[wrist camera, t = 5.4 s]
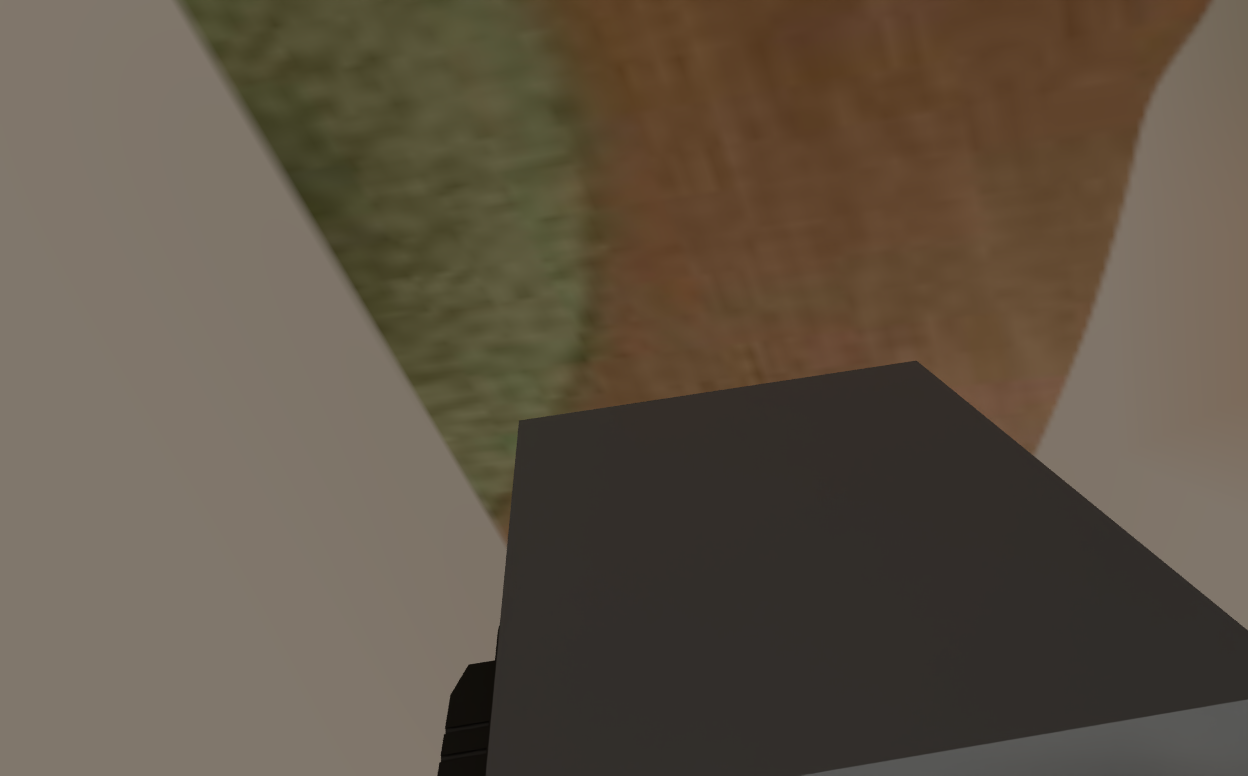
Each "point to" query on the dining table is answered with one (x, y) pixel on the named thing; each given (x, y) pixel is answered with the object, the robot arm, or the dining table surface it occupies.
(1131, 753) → the matte gray cube
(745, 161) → the dining table surface
